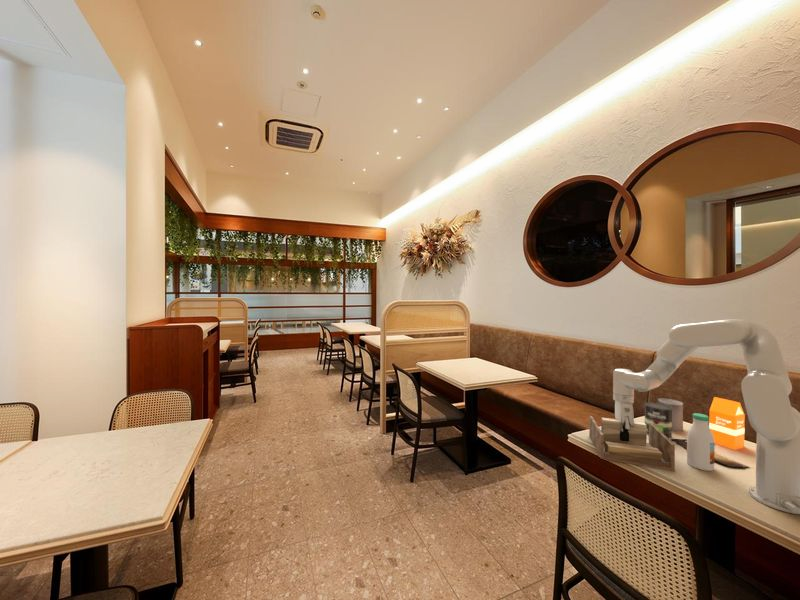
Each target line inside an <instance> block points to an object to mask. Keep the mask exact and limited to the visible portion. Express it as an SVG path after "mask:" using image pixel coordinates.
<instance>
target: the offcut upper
mask: <svg viewBox="0 0 800 600" xmlns="http://www.w3.org/2000/svg"><path fill="white" fill-rule="evenodd" d="M605 447H606V448H607V450H608V451H611V452H618V453H626V454H633V455H640V456H648V457H655V458H662V453H661V452H660V451H659V450H658V449H657V448H652V447H645V446H637V445H629V444H621V443H613V442H606V441H605Z"/></svg>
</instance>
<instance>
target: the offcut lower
mask: <svg viewBox="0 0 800 600" xmlns="http://www.w3.org/2000/svg"><path fill="white" fill-rule="evenodd" d="M605 451H606V453H612V454H618V455H625V456H631V457H638V458H644V459H651V460H657V461H662V458H655V457H648V456H640V455H633V454H626V453H618V452H611V451H608V450H607V448H606V447H605Z"/></svg>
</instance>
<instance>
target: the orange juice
mask: <svg viewBox="0 0 800 600" xmlns="http://www.w3.org/2000/svg"><path fill="white" fill-rule="evenodd" d="M708 417H709V423H708V425H709V428H710V430H711V432H712V434H713V437H714V444H717V445H721V446H724V447H725V448H729V449H732V450H739V449H742V448H745V433H746V432H745V431H746V430H745V422H746V421H745V419H746V418H745V417H746V415H745V413H744V410H743V408H742V405H741V402H738V401H734V400H730V399H726V398H720V397H717V396H714V397H713V400H712V403H711V404H710V408H709V416H708Z"/></svg>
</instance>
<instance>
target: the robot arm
mask: <svg viewBox="0 0 800 600" xmlns="http://www.w3.org/2000/svg"><path fill="white" fill-rule="evenodd" d="M734 345H740V346H741V348H742V353H743V354H742V355H743V360H744V362H745V366H746V370H747V375H746V376H744V377H743V379H742V380H741V386H740V387H741V393H742V398H743V402H744V406H745V411H746V414H747V417H748V418H747V419H748V421H749V424H750V426H751V427H752V429H753V430H754V431H755V432H756V441H755V442H756V447H755V448H756V449H755V451H756V452H755V455H756V456H755V486H752V487H749V489H748V494H749V495H750V496H751V498H753V499H754V500H756V501H757V502H759V503H761V504H763V505H765V506H767V507H770V508H772V509H775V510H777V511H782V512H785V513H789V514H794V515H800V411H798V410H797V409H796V408H795V407H793V406H792V405H791V402H790V397H789V395H790V394H791V393H792V390H793V385H792V381H791V380H790V377H789V373H788V369H787V366H786V364H785V363H786V362H785V360H784V358H783V354H782V351H781V348H780V344H779V343H778V340H777V339H776V337H775V336H774V334H773V333H772V332H771V331H769V329H767V328H766V327H764V326H762V325H761V324H759V323H756V322H753V321H750V320H746V319H741V318H731V319H729V318H727V319H722V320H713V321H704V322H696V323H695V322H694V323H682V324H677V325H675V326H672V327H671V329H670V331H669V333H668V339H667V340H666V341H664V342H663V344H662V345H660V347H658V349H657V350H656V357H655V360H654V361H653V362H652V363H651V364H650V365H649V366H648V367H647V368H646V369H645V370H642V371H640V372H634V371H633V370H631V369H627V368H615V369H613V372H612V379H613V380H612V399H613V401H614V417H615V418H614V419H617V420H618V421H619V423H620V424H621V431H620V440H621V441H627V442H629V430H630V427H629V424H630V425H631V426H632V427H633V426H634V421H635V417H634V416H635V415H634V407H633V405H634V403H635V391H637V392H642V393H643V392H648V391H651V390H655V389H656V388H658V387H660V386H662V384H663V383H664V382H665V381H667V380H668V379H669V378H670V377H671V376H672V375H673V374H674V372H676V370H677V369H678V368H679V367H680V366H681V364H682V363H683V362H684V361H685V360H686V359H688V357H689V356H691V354H693V353H694V352H695V351H696V350H698V348H704V347H705V348H707V347H709V348H710V347H722V346H724V347H725V346H734ZM629 422H630V423H629ZM623 423H624V424H623ZM623 426H625V427H623Z"/></svg>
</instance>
